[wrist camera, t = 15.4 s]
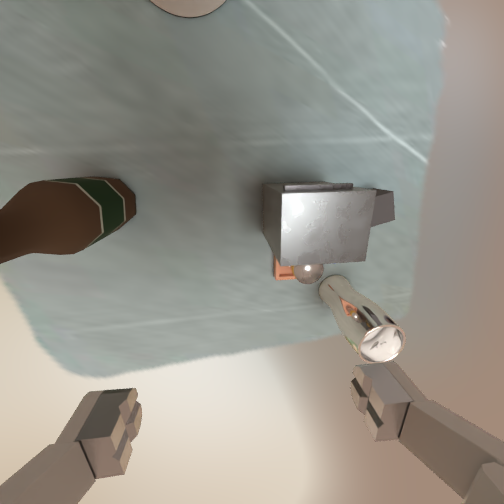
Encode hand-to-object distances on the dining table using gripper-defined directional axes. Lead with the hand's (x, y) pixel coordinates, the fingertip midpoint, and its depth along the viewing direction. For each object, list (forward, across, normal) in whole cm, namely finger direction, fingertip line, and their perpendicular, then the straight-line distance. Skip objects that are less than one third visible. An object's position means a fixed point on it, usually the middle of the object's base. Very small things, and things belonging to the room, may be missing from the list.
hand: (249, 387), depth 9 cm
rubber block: (+31, -22, -1) cm, 38 cm away
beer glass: (+31, -19, +15) cm, 39 cm away
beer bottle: (+31, +18, -3) cm, 36 cm away
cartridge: (+30, -11, +7) cm, 33 cm away
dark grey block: (+31, -10, -1) cm, 33 cm away
